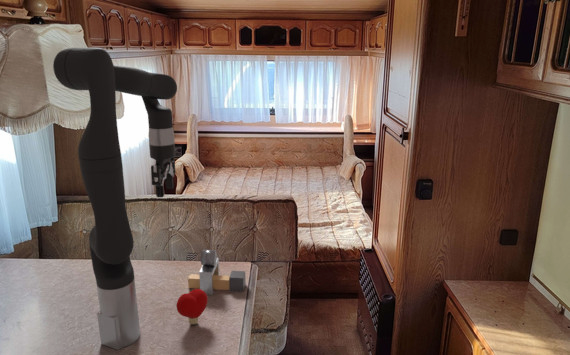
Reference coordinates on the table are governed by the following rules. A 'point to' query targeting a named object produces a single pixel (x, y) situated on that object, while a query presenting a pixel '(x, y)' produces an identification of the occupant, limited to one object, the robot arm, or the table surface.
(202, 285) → the housing
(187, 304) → the red heart ornament
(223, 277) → the plug
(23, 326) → the table surface
